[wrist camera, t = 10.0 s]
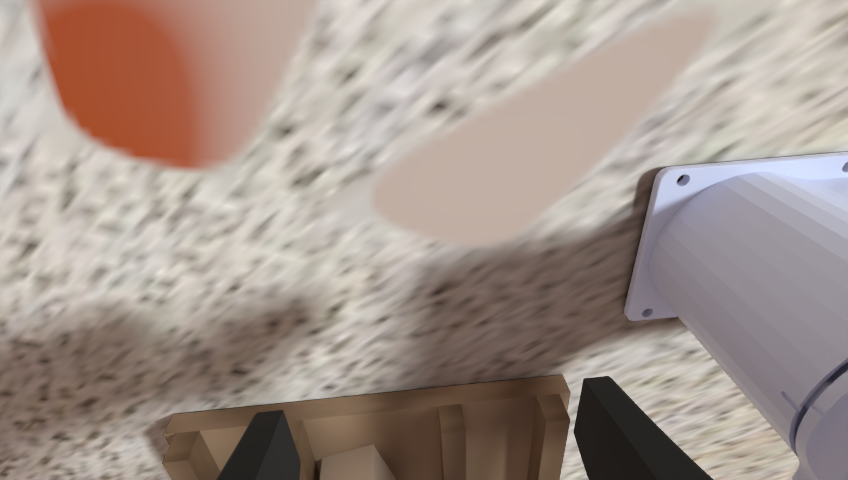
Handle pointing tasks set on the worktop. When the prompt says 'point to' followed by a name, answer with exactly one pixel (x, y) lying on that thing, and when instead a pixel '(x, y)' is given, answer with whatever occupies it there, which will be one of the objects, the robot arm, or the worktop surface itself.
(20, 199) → the worktop surface
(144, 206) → the worktop surface
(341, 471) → the beige rectangular board
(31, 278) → the worktop surface
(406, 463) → the rack
